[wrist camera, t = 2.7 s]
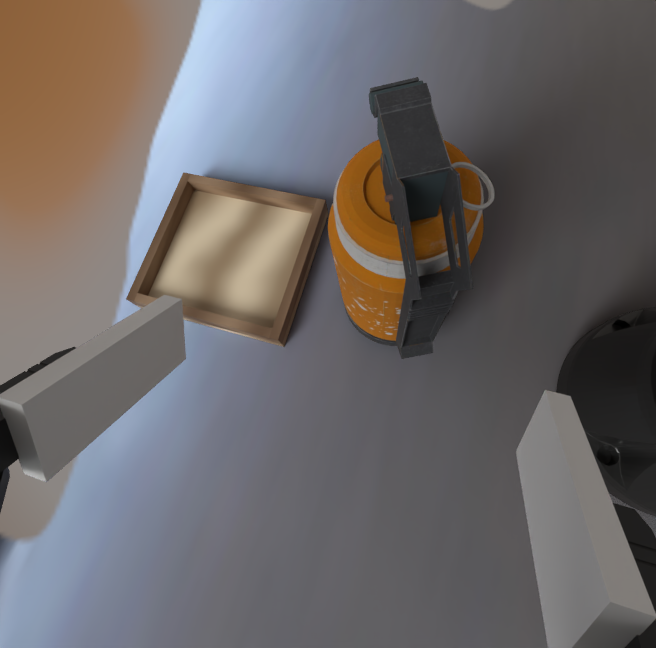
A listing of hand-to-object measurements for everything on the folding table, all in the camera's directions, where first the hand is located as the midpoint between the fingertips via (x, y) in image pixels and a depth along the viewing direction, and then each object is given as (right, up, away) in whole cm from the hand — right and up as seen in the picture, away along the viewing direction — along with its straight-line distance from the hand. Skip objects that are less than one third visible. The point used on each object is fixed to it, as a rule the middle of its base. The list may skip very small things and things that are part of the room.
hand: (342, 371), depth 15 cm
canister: (+6, +3, +21) cm, 22 cm away
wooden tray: (-9, +8, +24) cm, 27 cm away
